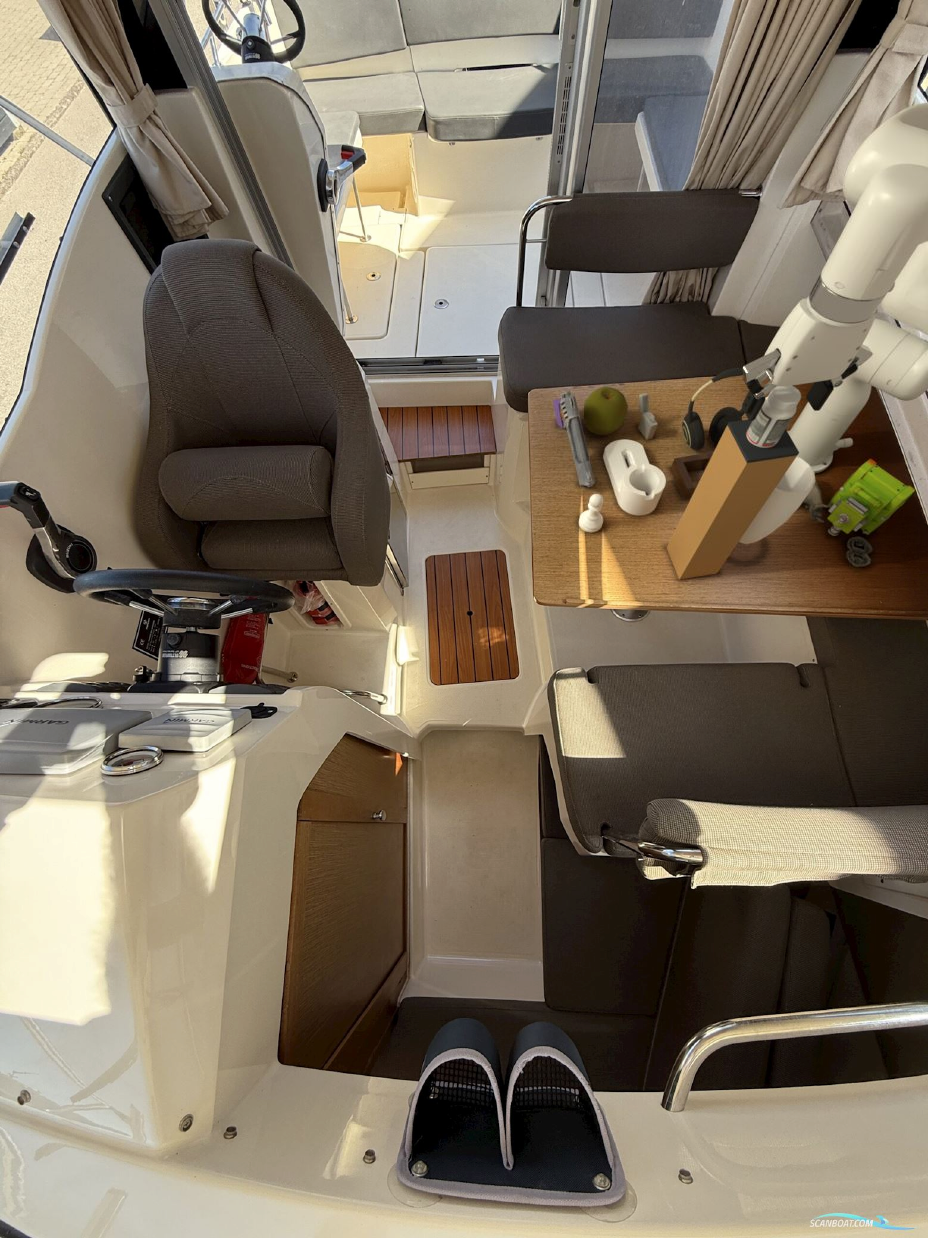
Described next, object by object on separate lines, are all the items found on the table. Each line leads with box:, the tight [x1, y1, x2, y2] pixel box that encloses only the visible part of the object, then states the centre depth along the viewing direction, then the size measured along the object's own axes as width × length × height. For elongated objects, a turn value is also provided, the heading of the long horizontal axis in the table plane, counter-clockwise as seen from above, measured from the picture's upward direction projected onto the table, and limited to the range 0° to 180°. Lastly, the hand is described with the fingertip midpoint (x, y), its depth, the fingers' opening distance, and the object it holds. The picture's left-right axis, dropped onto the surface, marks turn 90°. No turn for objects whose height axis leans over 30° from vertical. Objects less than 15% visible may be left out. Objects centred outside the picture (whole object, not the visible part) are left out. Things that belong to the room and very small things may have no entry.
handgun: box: [552, 390, 596, 488], centre depth 130 cm, size 3×22×15 cm
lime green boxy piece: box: [827, 458, 916, 537], centre depth 115 cm, size 13×16×14 cm
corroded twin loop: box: [845, 535, 874, 568], centre depth 117 cm, size 5×8×1 cm, turn 156°
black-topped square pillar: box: [666, 419, 799, 580], centre depth 103 cm, size 8×8×35 cm
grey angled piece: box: [638, 392, 659, 441], centre depth 132 cm, size 7×2×8 cm, turn 22°
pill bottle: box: [747, 385, 802, 448], centre depth 84 cm, size 5×5×8 cm
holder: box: [669, 451, 714, 500], centre depth 126 cm, size 9×9×4 cm
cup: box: [738, 457, 816, 545], centre depth 110 cm, size 10×10×22 cm
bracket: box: [602, 439, 667, 516], centre depth 125 cm, size 20×9×7 cm, turn 8°
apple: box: [582, 386, 629, 436], centre depth 131 cm, size 10×10×11 cm
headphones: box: [681, 367, 762, 451], centre depth 124 cm, size 9×15×20 cm, turn 98°
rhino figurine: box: [802, 479, 830, 524], centre depth 121 cm, size 4×14×6 cm, turn 7°
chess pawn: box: [578, 493, 604, 533], centre depth 119 cm, size 5×5×9 cm
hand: (779, 408), depth 83 cm, fingers open, 9 cm apart
